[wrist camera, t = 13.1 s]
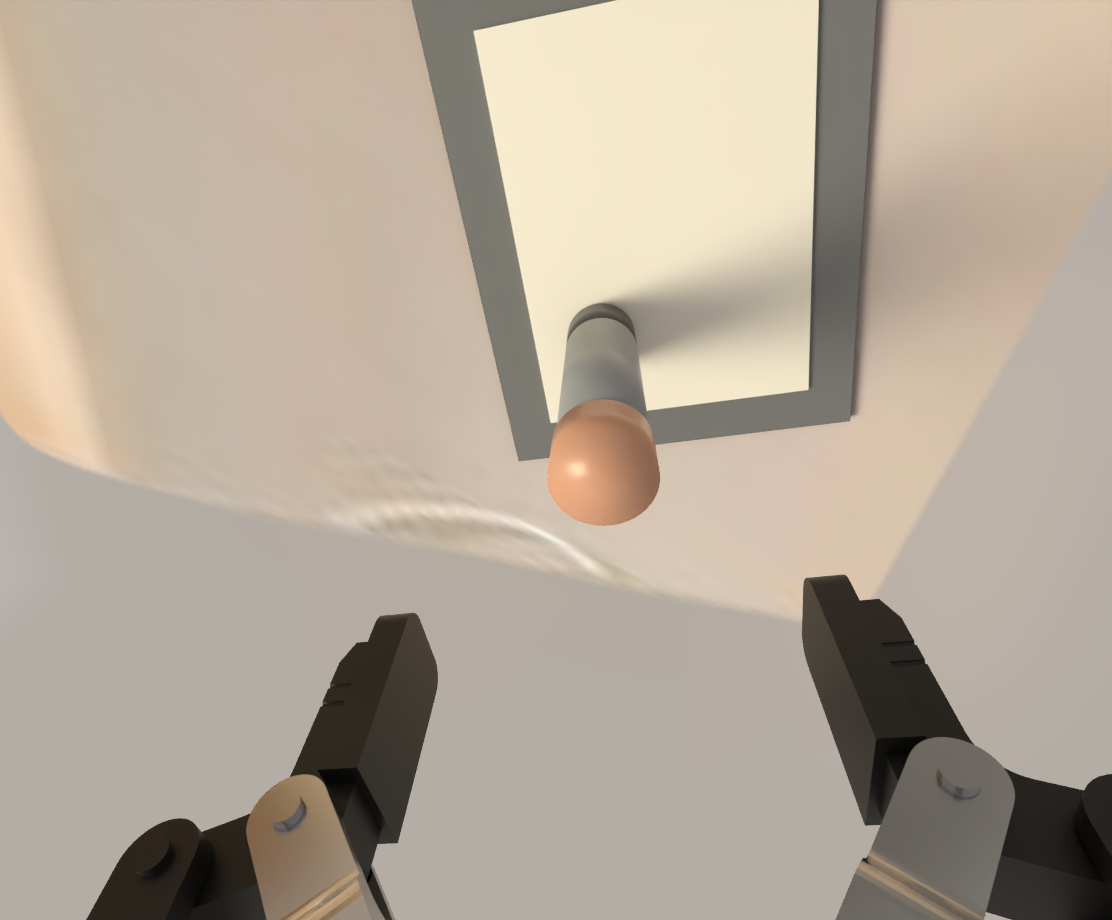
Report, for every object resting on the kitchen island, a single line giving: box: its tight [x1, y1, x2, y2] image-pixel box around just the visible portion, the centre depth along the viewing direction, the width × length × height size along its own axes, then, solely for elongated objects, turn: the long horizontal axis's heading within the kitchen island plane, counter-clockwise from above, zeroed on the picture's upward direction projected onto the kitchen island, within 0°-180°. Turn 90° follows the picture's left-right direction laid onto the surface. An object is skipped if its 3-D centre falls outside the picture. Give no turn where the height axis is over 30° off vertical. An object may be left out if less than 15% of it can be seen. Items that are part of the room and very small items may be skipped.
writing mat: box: [412, 0, 877, 461], centre depth 27 cm, size 20×16×1 cm
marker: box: [547, 303, 660, 526], centre depth 24 cm, size 3×3×12 cm
